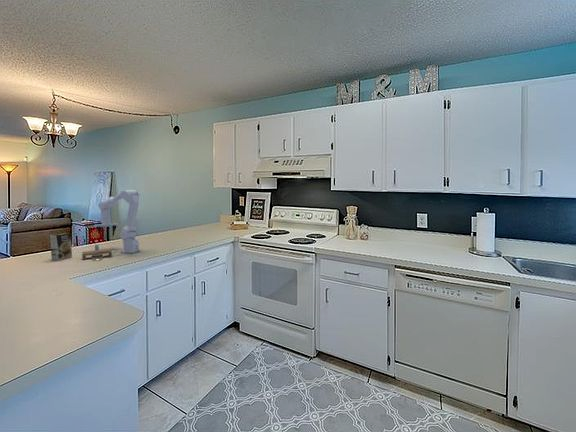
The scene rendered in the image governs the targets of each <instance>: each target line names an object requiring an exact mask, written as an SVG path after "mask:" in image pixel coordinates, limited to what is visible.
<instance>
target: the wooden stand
mask: <svg viewBox="0 0 576 432" xmlns="http://www.w3.org/2000/svg"><path fill="white" fill-rule="evenodd" d="M98 254H103V255H106V254H107V255H108V257H109V258H111V257H112V255H113V252H112V249H111V248H109V249H99V250H97V251H95V250H89V251H82V253H81V256H82V260H83V261H85V260H86V258H87V256H88V257H89V256H92V255H98Z"/></svg>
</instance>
